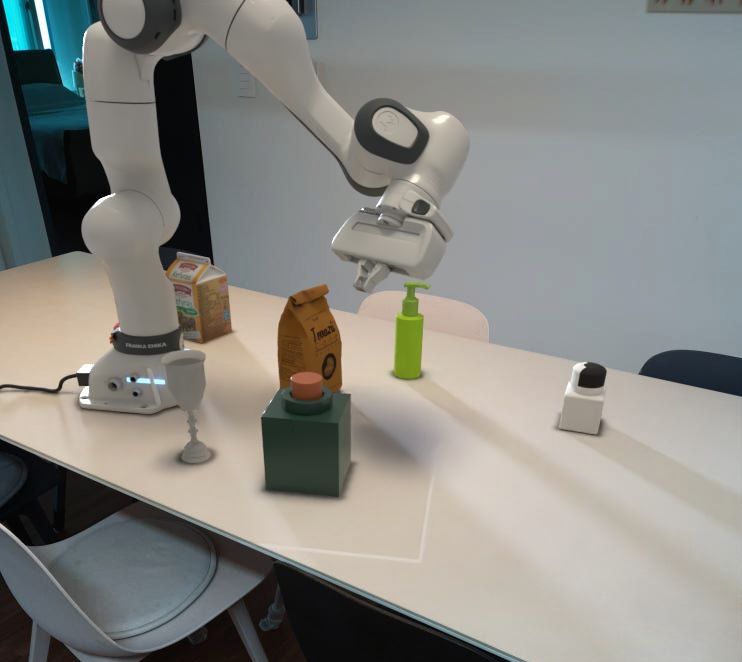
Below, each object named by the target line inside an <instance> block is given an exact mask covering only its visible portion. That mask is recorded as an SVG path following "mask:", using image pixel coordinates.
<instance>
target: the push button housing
mask: <svg viewBox="0 0 742 662" xmlns="http://www.w3.org/2000/svg"><path fill="white" fill-rule="evenodd" d="M322 393H323V395H322V397H321V398H318V399H315V400H298V399H295V398H293V397H292V391H291V386H290V387H288V388H285V389H280V388H278V390H277V391H276V392H275V394H274V396H273V397H272V399H271V400H270V402H269V403H268V405H267V407H266V408H265V410H264V411H263V413H262V414H261V416H260V425H261V438H262V439H261V440H262V454H263V455H262V456H263V469H264V485H265V490H266V491H274V492H285V493H296V494H307V495H318V496H329V497H340V496H341V493H342V489H343V486H344V485H345V481H346V478H347V475H348V472H349V470H350V466H351V464H352V394H351V393H345V392H344V393H343V392H335V393H333V392H332V391H331V390H330V389H329V388H328V387H325V386H322Z"/></svg>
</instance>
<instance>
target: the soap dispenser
mask: <svg viewBox="0 0 742 662" xmlns="http://www.w3.org/2000/svg"><path fill="white" fill-rule="evenodd" d="M431 287H432V286H431V284H428V283H424V282H422V281H421V282H420V281H405V282H404V284H403V288H406V296H405V297H403V298H402V300H401V301H402V302H401V312H398V313H396V314H395V327H394V330H395V332H394V359H393V361H394V362H393V364H394V365H393V375H394V376H395V377H397V378H399V379H403V380H413V379H417V378H420V376H421V374H422V373H421V372H422V355H423V354H422V353H423V337H424V336H423V335H424V318H425V317H424V314H423V313H420V312H419V301H420V300H419V298H418V297H416V289H418V288H419V289H425V290H429V289H431Z"/></svg>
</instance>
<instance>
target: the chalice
mask: <svg viewBox="0 0 742 662" xmlns="http://www.w3.org/2000/svg"><path fill="white" fill-rule="evenodd" d="M206 358H207V354H206V353H205V352H204V351H202V350H196V349H190V350H180V351H174V352H171V353H168V354H166V355H164V356H163V357H162V359H161V361H162V362H163V364H164V365H165V367H166V374H167V381H168V388H169V390H170V392H171V394H172V396H173V398H174V399H175V401H176V402H177V403H178V405H177V406H178V407H179V408H180V409H181V410H182V411H183V412H187V420H186V423H188V425H189V429H188V430H187V433H188V434H189V435H190V441H188V442H187V443H186V444H185V446H183V450H182V455H181V457H180V458H181V460H182V461H183V462H185V463H188V464H199V463H202V462H205V461H207V460H208V459H210V458H211V456H212V453H211V452H210V451H209V447H207V445H206V443H204V442H203V441H201V440H199V439H198V437H197V435H198V433H199V429H198V428H197V427H196V423H197V421H198V420H197V419H196V418H195V411H197V410H199V408H200V406H201V402H202V400H203V398H204V395H205V390H206V386H207V380H206V371H205V360H206Z"/></svg>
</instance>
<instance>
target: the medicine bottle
mask: <svg viewBox="0 0 742 662" xmlns="http://www.w3.org/2000/svg"><path fill="white" fill-rule="evenodd" d="M607 373H608V369H607V368H606V367H605V366H604V365H601V364H599V363H598V362H593V361H583V362H578V363H576V364H574V365H573V367H572V372H571V378H570V381H568V383H567V386H566V389H565V393H564V396H563V401H562V407H561V414H560V420H559V424H558V425H559V426H558V428H559V430H565V431H571V432H577V433H578V432H579V433H583V434H591V435H598V434H599V430H600V425H601V424H600V423H601V420H602V419H601V418H602V415H603V410H604V405H605V399H606V393H607V386H606V385H605V383H606V378H607Z"/></svg>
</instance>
